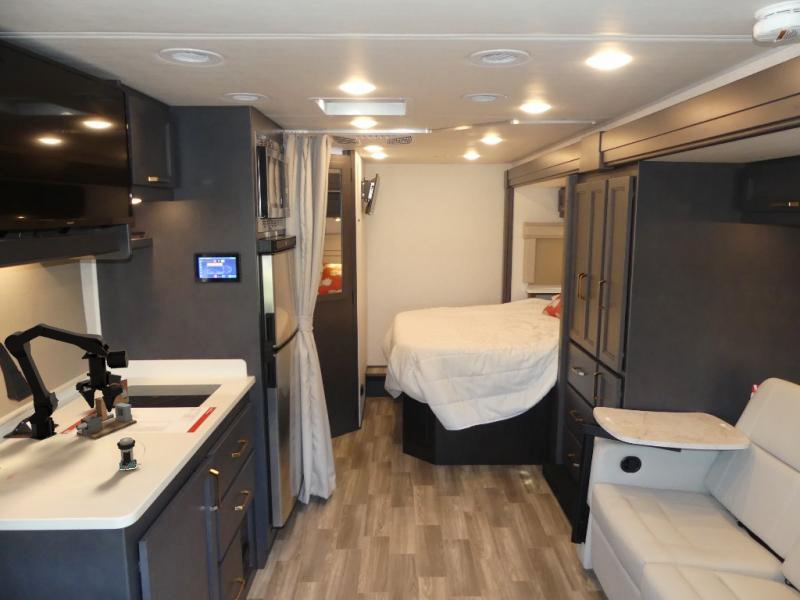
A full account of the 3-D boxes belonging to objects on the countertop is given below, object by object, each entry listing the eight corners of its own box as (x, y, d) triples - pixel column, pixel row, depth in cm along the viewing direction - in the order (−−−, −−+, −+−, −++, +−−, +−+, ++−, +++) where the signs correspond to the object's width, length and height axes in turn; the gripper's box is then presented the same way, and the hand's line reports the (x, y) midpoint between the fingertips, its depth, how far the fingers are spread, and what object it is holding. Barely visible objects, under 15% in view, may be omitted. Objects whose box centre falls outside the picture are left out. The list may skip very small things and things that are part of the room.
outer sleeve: (89, 435, 212) (88, 421, 211) (81, 433, 214) (80, 419, 213) (102, 430, 217) (101, 416, 216) (95, 428, 219) (94, 414, 218)
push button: (143, 464, 191) (141, 435, 190) (138, 472, 186) (136, 442, 184) (122, 465, 190) (120, 436, 189) (116, 473, 185) (114, 443, 184)
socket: (126, 422, 225) (124, 407, 224) (115, 419, 228) (114, 404, 227) (132, 419, 228) (131, 404, 227) (122, 417, 230) (121, 402, 229)
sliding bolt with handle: (81, 431, 210) (79, 407, 208) (75, 430, 211) (73, 405, 209) (115, 418, 222) (113, 395, 221) (109, 417, 223) (107, 394, 222)
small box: (110, 407, 244) (108, 383, 242) (103, 404, 247) (101, 380, 246) (129, 402, 250) (127, 378, 249) (122, 399, 254) (120, 376, 252)
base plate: (95, 439, 211) (95, 436, 211) (76, 434, 215) (76, 432, 215) (136, 422, 227) (136, 420, 227) (118, 418, 231) (118, 416, 231)
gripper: (134, 367, 219) (136, 407, 221) (99, 361, 227) (103, 399, 229) (107, 375, 209) (111, 416, 211) (73, 368, 217) (76, 408, 219)
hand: (101, 410), depth 218 cm, fingers open, 9 cm apart
